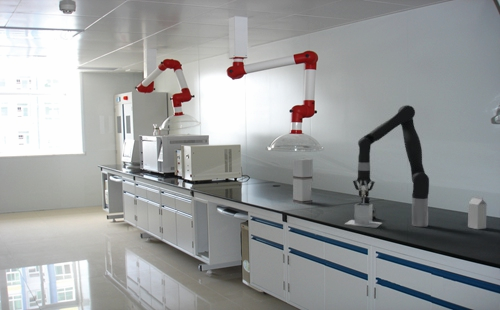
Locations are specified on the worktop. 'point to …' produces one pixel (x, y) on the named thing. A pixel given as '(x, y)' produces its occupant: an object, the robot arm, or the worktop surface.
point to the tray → (373, 224)
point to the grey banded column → (302, 180)
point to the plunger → (363, 192)
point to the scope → (368, 203)
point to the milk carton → (477, 213)
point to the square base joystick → (363, 214)
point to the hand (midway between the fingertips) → (363, 196)
